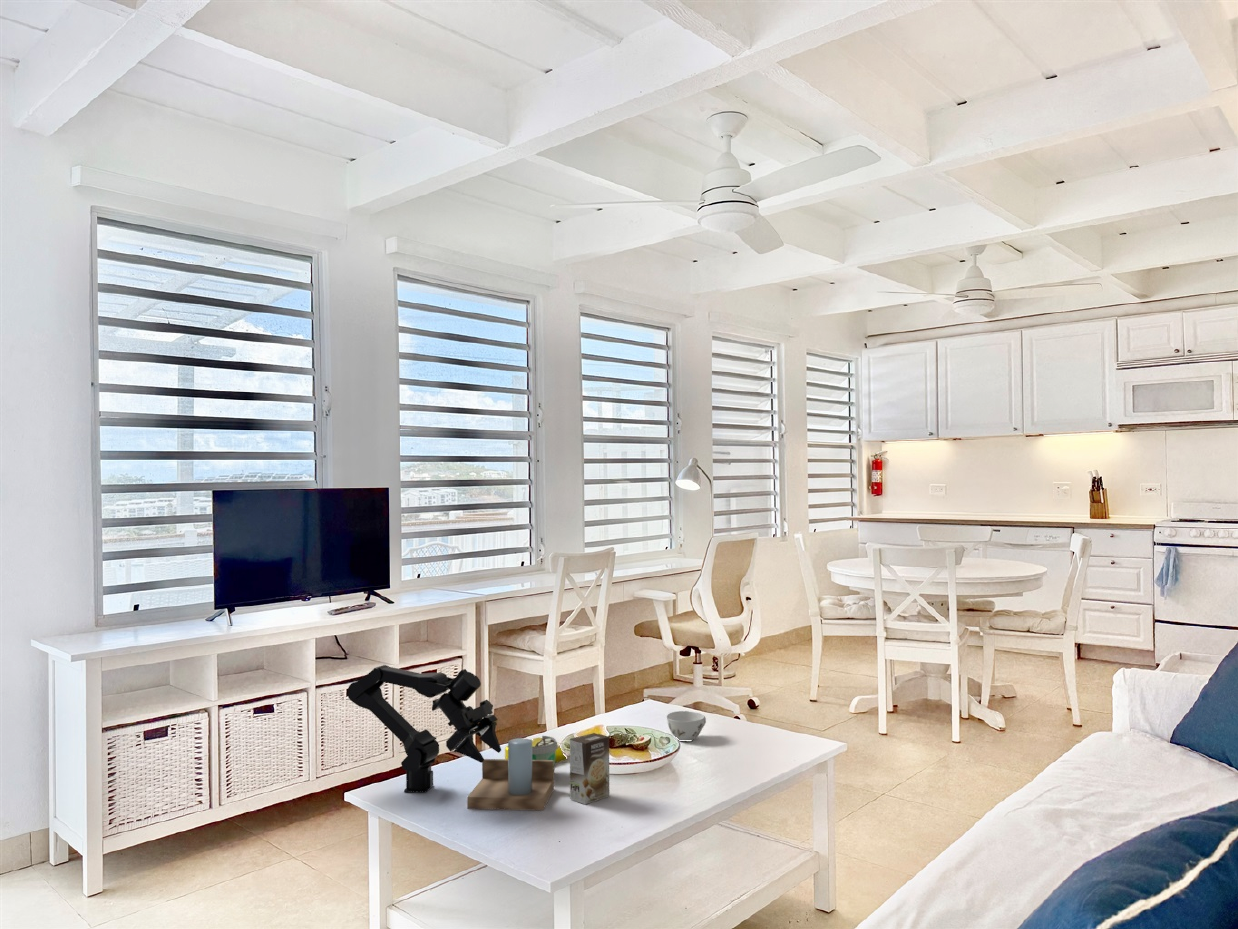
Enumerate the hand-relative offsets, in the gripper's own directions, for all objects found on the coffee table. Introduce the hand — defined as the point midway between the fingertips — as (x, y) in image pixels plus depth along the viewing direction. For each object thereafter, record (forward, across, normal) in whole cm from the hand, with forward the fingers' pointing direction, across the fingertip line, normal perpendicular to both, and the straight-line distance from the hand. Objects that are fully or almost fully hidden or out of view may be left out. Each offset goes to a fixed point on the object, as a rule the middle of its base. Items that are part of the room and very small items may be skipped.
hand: (491, 756), depth 231 cm
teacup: (+32, +71, -16) cm, 79 cm away
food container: (+12, +22, +4) cm, 25 cm away
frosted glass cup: (+12, 0, 0) cm, 12 cm away
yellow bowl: (+5, +36, +12) cm, 38 cm away
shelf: (+12, +2, +4) cm, 12 cm away
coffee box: (+26, +9, -10) cm, 29 cm away
